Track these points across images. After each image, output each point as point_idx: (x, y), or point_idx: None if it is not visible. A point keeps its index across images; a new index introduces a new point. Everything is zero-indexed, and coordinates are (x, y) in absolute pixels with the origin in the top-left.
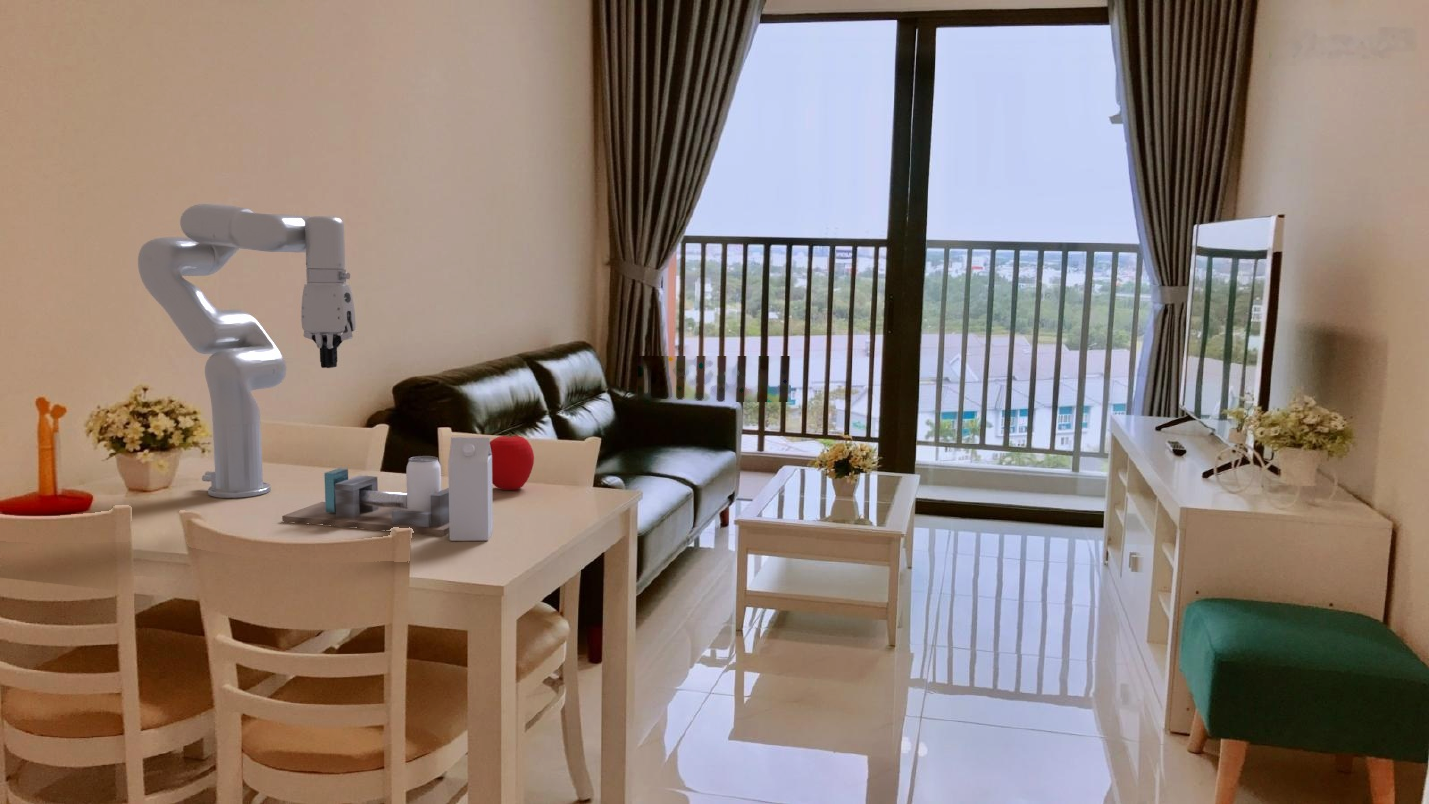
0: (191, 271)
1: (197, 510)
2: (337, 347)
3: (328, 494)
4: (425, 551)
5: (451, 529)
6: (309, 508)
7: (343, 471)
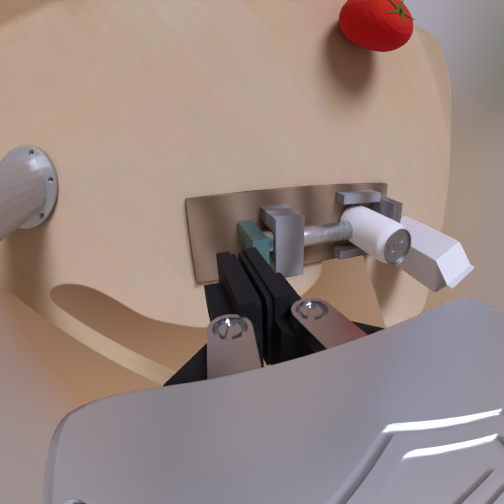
0: None
1: (65, 282)
2: (312, 308)
3: None
4: (376, 288)
5: None
6: (199, 239)
7: (268, 250)
